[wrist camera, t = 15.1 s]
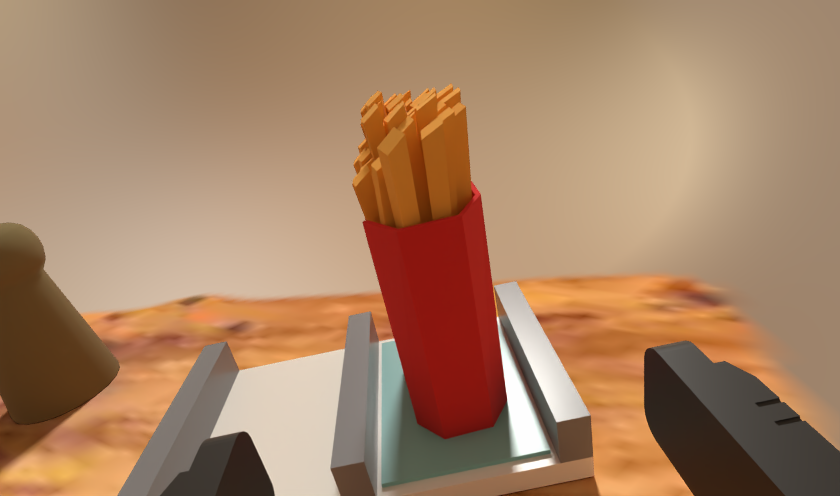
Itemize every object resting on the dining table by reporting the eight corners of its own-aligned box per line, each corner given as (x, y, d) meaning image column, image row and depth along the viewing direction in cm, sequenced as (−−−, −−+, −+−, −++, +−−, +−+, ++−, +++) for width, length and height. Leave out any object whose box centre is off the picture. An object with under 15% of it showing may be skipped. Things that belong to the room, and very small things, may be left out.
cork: (121, 346, 34) (42, 203, 29) (117, 391, 29) (21, 226, 24) (23, 385, 32) (-79, 237, 27) (-1, 441, 27) (-131, 270, 22)
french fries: (399, 338, 26) (336, 95, 21) (474, 319, 26) (431, 74, 21) (423, 476, 18) (328, 126, 12) (534, 447, 18) (488, 91, 12)
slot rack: (143, 567, 18) (106, 514, 16) (224, 388, 27) (205, 345, 26) (594, 476, 18) (590, 415, 16) (521, 327, 27) (515, 281, 25)
